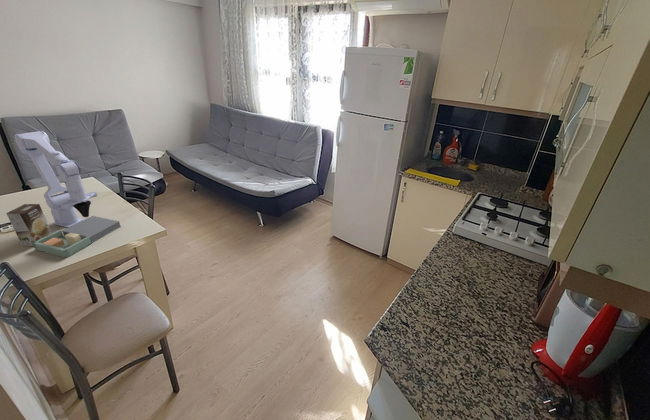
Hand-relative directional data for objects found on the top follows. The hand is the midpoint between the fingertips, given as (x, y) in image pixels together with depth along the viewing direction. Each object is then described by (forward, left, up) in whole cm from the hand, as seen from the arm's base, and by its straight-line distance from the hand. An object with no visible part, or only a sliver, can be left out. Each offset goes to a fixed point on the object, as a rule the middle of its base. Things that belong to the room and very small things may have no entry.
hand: (86, 216), depth 133 cm
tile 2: (+2, -8, -6) cm, 11 cm away
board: (-1, +2, -9) cm, 10 cm away
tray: (-1, -12, -9) cm, 15 cm away
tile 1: (-4, -14, -6) cm, 16 cm away
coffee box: (-16, -12, -10) cm, 22 cm away
